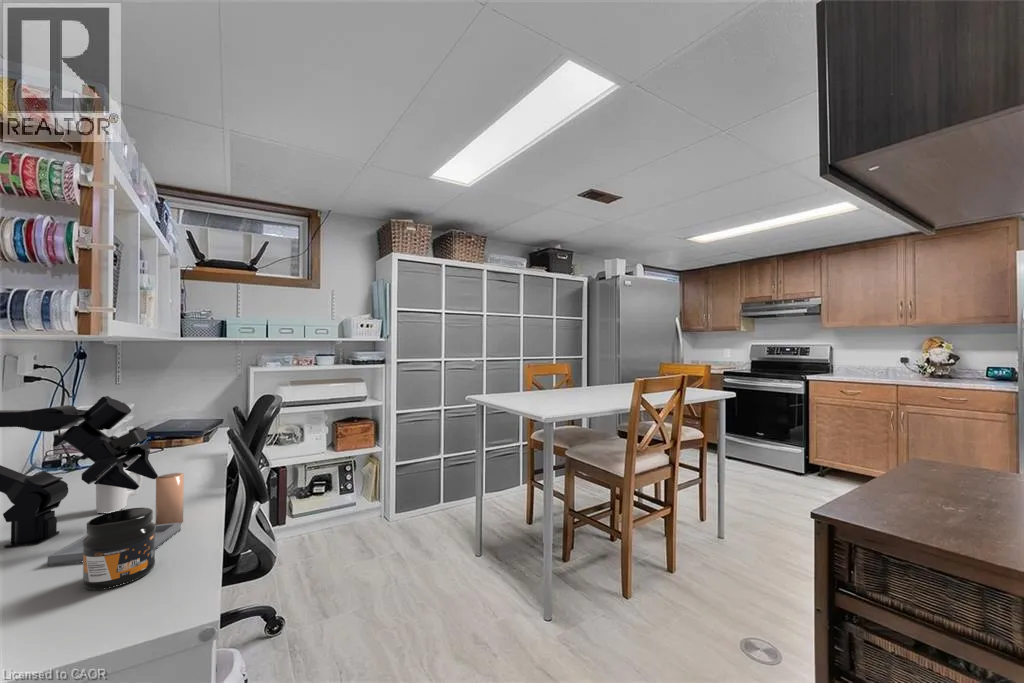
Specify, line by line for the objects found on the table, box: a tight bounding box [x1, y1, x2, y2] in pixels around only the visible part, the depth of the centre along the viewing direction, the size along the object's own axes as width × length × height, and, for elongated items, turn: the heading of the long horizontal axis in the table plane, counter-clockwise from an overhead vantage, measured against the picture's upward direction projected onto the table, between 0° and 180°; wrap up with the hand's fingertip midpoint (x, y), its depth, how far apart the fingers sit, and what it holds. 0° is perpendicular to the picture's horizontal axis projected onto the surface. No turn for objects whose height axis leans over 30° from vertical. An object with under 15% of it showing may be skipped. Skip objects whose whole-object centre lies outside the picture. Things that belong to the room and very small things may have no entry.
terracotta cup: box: [154, 472, 185, 525], centre depth 108 cm, size 6×6×12 cm
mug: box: [95, 467, 143, 514], centre depth 120 cm, size 10×7×12 cm, turn 145°
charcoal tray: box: [47, 522, 182, 567], centre depth 95 cm, size 18×13×2 cm
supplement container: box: [81, 507, 156, 590], centre depth 82 cm, size 10×10×12 cm
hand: (147, 482), depth 106 cm, fingers open, 9 cm apart
